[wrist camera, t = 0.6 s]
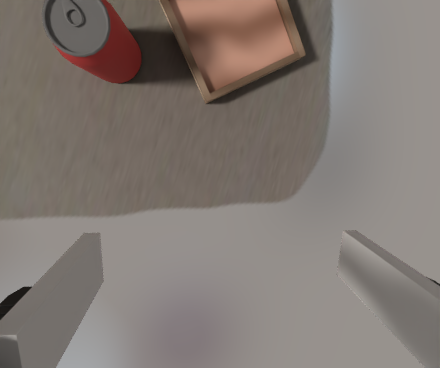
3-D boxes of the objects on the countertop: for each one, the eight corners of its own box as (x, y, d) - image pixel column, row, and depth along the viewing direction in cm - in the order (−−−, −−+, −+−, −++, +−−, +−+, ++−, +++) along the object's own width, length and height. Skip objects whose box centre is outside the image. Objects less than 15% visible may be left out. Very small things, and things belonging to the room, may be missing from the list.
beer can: (126, 20, 33) (90, -38, 22) (151, 71, 35) (130, 42, 23) (79, 42, 33) (17, -3, 22) (106, 92, 35) (62, 75, 23)
